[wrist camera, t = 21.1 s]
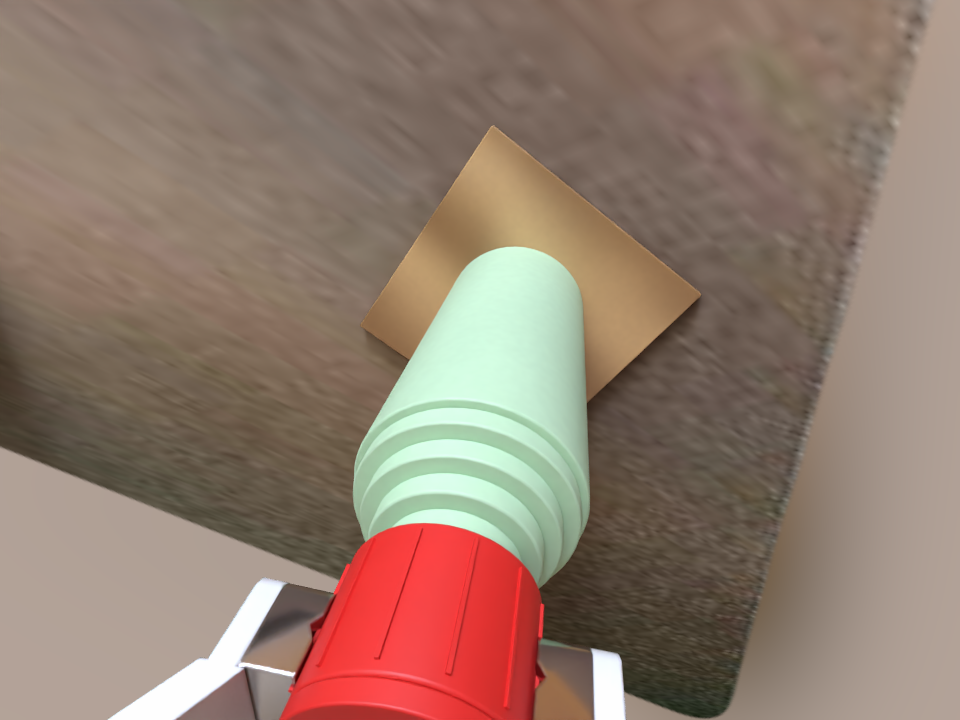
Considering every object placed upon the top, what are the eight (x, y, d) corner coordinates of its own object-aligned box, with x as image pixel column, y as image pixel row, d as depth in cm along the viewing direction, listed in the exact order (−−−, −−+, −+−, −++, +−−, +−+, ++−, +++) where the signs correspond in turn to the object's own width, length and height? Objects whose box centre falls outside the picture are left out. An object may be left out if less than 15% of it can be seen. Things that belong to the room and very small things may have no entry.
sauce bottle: (502, 217, 21) (326, 556, 6) (612, 302, 22) (689, 772, 7) (426, 319, 24) (179, 723, 9) (527, 391, 25) (455, 862, 10)
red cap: (414, 486, 9) (344, 667, 7) (584, 596, 10) (588, 803, 7) (320, 588, 11) (233, 762, 8) (468, 675, 12) (434, 863, 9)
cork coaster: (493, 124, 20) (491, 125, 20) (700, 292, 22) (702, 295, 22) (362, 322, 25) (359, 325, 25) (538, 445, 27) (537, 449, 27)
